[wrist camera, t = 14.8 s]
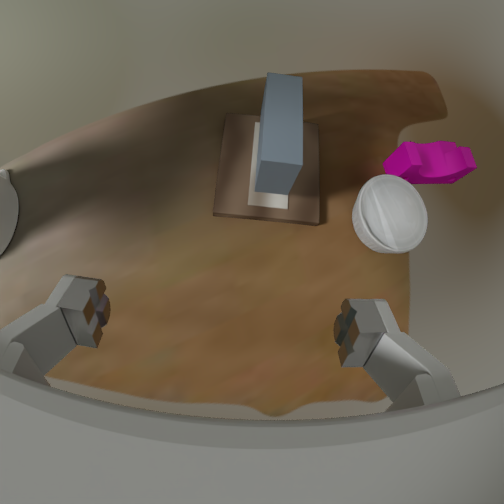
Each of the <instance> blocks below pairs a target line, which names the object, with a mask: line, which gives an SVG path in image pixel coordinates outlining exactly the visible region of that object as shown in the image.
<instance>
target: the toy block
mask: <svg viewBox="0 0 504 504" xmlns="http://www.w3.org/2000/svg"><path fill="white" fill-rule="evenodd" d="M383 166H384V169H385V173H386V174H389V175H395V176H398V177H400V178H402V179H404V180H406V181H407V182H409V183H410V184H452V183H454V182H455V181H457V180H459V179H460V178H462V177H463V176H465V175H467V174H468V173H470V172H471V171H473V170H474V169H476V168H477V167H476V164H475V161H474V158H473V155H472V153H471V150H470V148H469V147H461V146H460V147H458V148H457V147H456V144H455V142H446V141H437V142H433V143H427V144H418V143H415V142H411V141H410V142H403V143H402V144H401V145H400V146H399V147H398V148H397V149H396V150H395V151H394V152H393V153H392V154H391V155H390V156H389V157H388V158H387V159H386V160H385V161H384V162H383Z"/></svg>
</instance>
